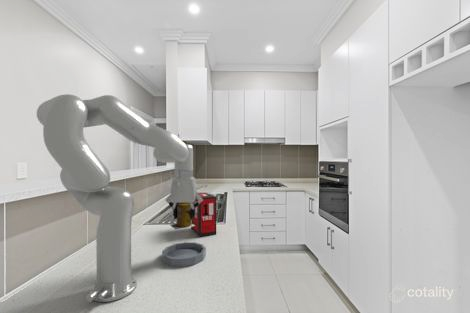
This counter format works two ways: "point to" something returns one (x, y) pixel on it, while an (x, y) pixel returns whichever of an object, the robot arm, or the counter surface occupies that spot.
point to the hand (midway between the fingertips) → (184, 217)
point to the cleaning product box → (205, 216)
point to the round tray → (183, 254)
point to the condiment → (183, 216)
